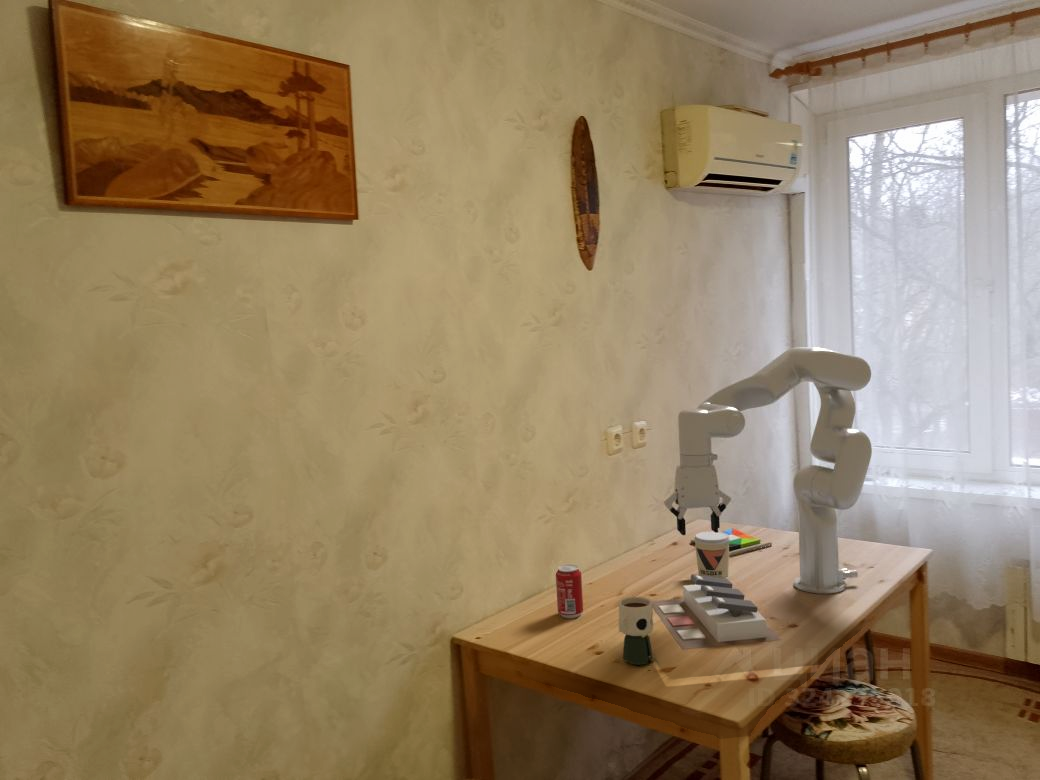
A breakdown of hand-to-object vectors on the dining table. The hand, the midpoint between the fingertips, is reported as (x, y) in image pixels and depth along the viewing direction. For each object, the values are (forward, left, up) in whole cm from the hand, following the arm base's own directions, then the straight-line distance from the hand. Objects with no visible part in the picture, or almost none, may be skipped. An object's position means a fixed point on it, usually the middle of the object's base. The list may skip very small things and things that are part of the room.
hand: (698, 532), depth 199 cm
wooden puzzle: (-26, -52, -21) cm, 61 cm away
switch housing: (-3, +8, -19) cm, 21 cm away
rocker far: (-2, 0, -15) cm, 15 cm away
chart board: (0, +8, -20) cm, 21 cm away
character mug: (+21, +24, -20) cm, 38 cm away
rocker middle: (-2, +8, -15) cm, 17 cm away
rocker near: (-2, +16, -15) cm, 22 cm away
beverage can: (+31, -6, -20) cm, 38 cm away
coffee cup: (-11, -23, -20) cm, 32 cm away
